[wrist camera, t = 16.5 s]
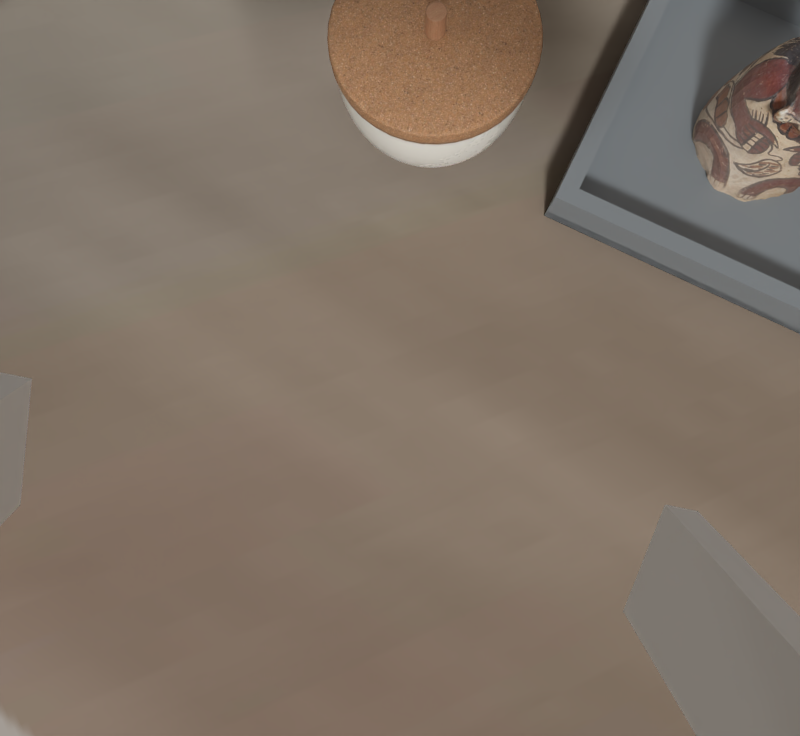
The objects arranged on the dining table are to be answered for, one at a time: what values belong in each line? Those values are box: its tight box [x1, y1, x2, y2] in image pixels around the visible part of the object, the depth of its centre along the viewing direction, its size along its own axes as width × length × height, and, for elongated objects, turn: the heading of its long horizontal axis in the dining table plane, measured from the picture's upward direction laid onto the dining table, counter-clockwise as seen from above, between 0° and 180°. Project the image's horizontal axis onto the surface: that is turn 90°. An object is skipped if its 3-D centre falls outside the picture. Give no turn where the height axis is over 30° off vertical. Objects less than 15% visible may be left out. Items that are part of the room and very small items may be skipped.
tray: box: [544, 0, 800, 334], centre depth 39 cm, size 18×18×3 cm
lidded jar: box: [327, 0, 543, 168], centre depth 36 cm, size 11×11×9 cm
